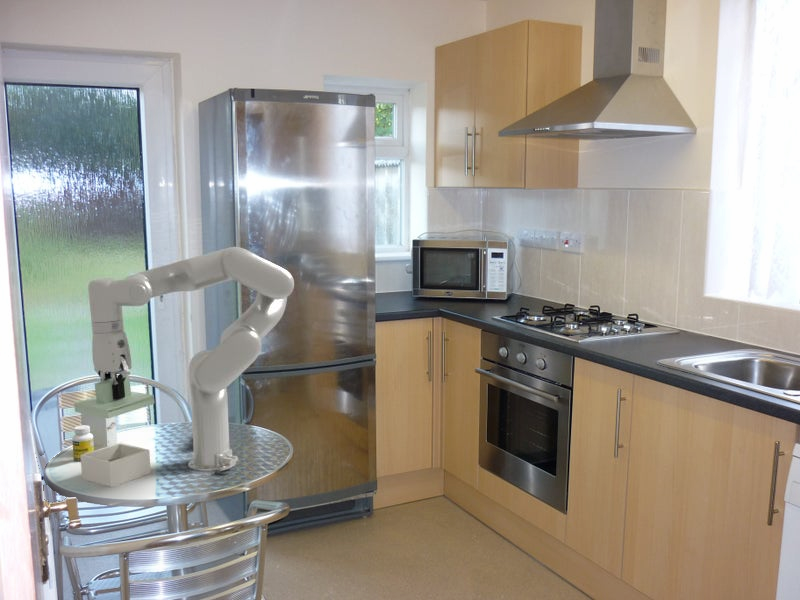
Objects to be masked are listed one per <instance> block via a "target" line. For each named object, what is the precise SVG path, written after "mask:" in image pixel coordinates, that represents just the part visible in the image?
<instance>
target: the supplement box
mask: <svg viewBox="0 0 800 600" xmlns="http://www.w3.org/2000/svg"><path fill="white" fill-rule="evenodd" d="M116 417H117V416H115V417H112V418H109V419H108V418H103V417H98V416H93V415H88V414H83V413H80V420H81V421H80V422H81V425H88V426H90V432H89V433H91V434H92V435H93V442H94V451H95V450H98V449H102V448H105V447H108V446H111V445H115V444H118V440H117V439H118V438H117V437H118V435H117V419H116Z"/></svg>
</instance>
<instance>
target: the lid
mask: <svg viewBox="0 0 800 600" xmlns="http://www.w3.org/2000/svg"><path fill="white" fill-rule="evenodd" d="M113 384H114V383H113V378H112V379H109V380H105V381H101V380H100V381H98V382H95V383H94V389H95V390H94V391H95V396H94V397H91V398H90V397H89V398H87V399H83V400H80V401H77V402H74V403H73V404H74V405H73V406H74V412H75V413H79V414H81V413H83V414H88V415H93V416H98V417H103V418H108V419H109V418H112V417H117V416H120V415H124V414H128V413H130V412H133V411H136V410H140V409H143V408H146V407H149V406H152V405H154V404H155V396H154V394H150V393H149V394H148V393H143V392H137V391H132V389H131V381H130V376H127V377H126V379H125V382H124V389H125V397H124V398H121V399H117V400H114V399H113V392H112V385H113Z"/></svg>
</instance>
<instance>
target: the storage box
mask: <svg viewBox="0 0 800 600" xmlns="http://www.w3.org/2000/svg"><path fill="white" fill-rule="evenodd" d="M150 455H151V454H150V449H146V448H143V447H140V446H135V445H132V444H127V443H123V442H117V444H115V445H111V446H108V447H105V448H102V449H98V450H95V451H92V452H89V453H85V454H82V455H80V456H81V462H80V467H81V468H80V469H81V479H82V480H85V481H89V482H93V483H95V484H98V485H102V486H105V487H109V488H113V487H115V486H119V485H121V484H123V483H124V484H125V483H126V482H129V481H132V480H135V479H138V478H140V477H143V476H144V477H145V475H149V474H151V458H150V457H151V456H150ZM117 457H119V458H120V459H117V460H114V461H111V462H110V461H107V460H110V459H114V458H117Z"/></svg>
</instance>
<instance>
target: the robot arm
mask: <svg viewBox="0 0 800 600" xmlns="http://www.w3.org/2000/svg"><path fill="white" fill-rule="evenodd" d="M233 280H234V281H236V282H238V283H239V284H241V285H244V286H246V287H247V288H250V289H251V290H253V291H255V292H257V295H256V298H255V300H254V301H253V303H252V304H251V305H250V306H249V307H248V308H247V310H245V311H244V312H243V313H242V314H241V315H240V316H239V317H238V318H237V319H236V320H235V321H234V322H233V323H230V325H229V326H227V327H226V329H224V330H223V332H222V333H221V335H220V339H219V341H220V342H219V344H218V345H217V346H216V347H215V348H214V349H213V350H211V349H209V350H208V349H204V350H200V351H198V352H197V353H195V354H194V355H193V356H192V358H191V359H190V361H189V365H188V383H189V390H190V406H191V428H192V446H193V447H192V448H193V458H192V459H190V461H188V465H187V466H188V468H189V469H191V470H194V471H199V472H200V471H203V472H212V471H215V473H219V472H223V471H227V470H229V469H232V468H234V466H235V465H236V464H237V462H238V461H239V457H238V456H237V455H233V449H232V448H231V447H230V430H229V428H230V427H229V406H228V405H229V404H228V403H229V402H228V401H229V400H228V389H227V388H228V387H229V386H230V385H231V384H232V383H233V382H234V381H236V379H237V378H239V377H240V376H241V375H242V374H243V373H244V372H245V371H246V370H247V369H248V368H249V367H250V366H251V365H252V364H253V363H254V362H255V361H256V359H258V357H259V355H260V353H261V351H262V340H263V339H264V338H265V337H266V336H267V335H268V334H269V332H271V330H273V328H274V327H276V325H277V324H278V323H279V321H280V320H281V319H282V317H283V315H284V312H285V311H286V307H287V300H288V297H289V296H290V295H291V294H292V293H293V291H294V288H295V280H294V277H293V276H292V274H291V272H289V271H288V270H287V269H285V268H284V267H282V266H280V265H277V264H275V263H273V262H272V261H268V260H267V259H265V258H263V257H261V256H259V255H257V254H255V253H253V252H252V251H251V250H248V249H245V248H243V247H239V246H230V247H227V248H224V249H223V248H222V249H219V250H216V251H211V252H208V253H206V254H201V255H198V256H193V257H190V258H186V259H183V260H178V261H176V262H173V263H169V264H165V265H161V266H157V267H155V268H150V269H147V270H144V271H139V272H136V273H133V274H130V275H128V276H126V277H125V278H124V279H123V278H122V279H116V278H98V279H93V280H91V281H90V282H89V283H88V286H87V287H88V288H87V289H88V299H89V309H90V310H89V311H90V320H91V321H90V323H91V332H92V339H91V340H92V341H91V349H92V350H91V351H92V354H91V355H92V364H93V370H94V371H95V372H96V374H97V375H98V376H99V378H100V380H99V381H100V382H101V381H105V380H109V379H112V378H113V383H114V384H113V385H112V392H113V399H114V400H117V399H121V398H124V397H125V389H124V382H125V379H126V377H129V375H131V371H130V370H131V369H132V367H133V364H132V356H131V350H130V345H129V344H130V343H129V340H128V336H127V334H126V331H125V328H124V316H123V315H124V314H123V307H142V306H144V305H146V304H147V303H149V302H150V300H151V299H152V298H156V297H159V296H162V295H168V294H170V293H176V292H177V293H178V292H194V291H195V292H196V291H199V290H202V289H206V288H208V287H211V286H216V285H219V284H222V283H227V282H230V281H233Z"/></svg>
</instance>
